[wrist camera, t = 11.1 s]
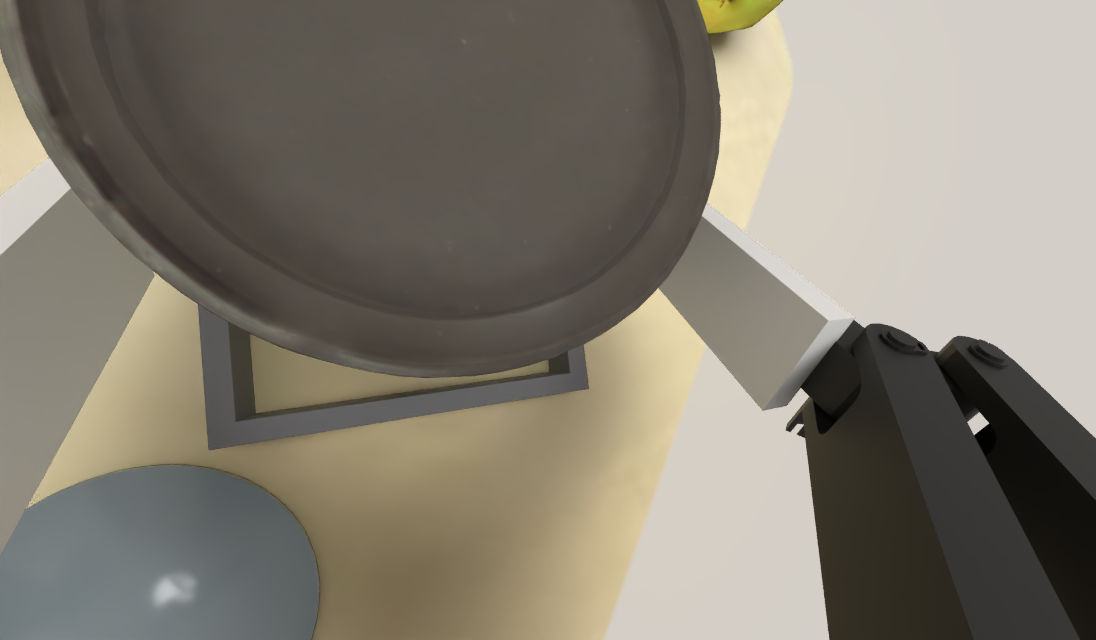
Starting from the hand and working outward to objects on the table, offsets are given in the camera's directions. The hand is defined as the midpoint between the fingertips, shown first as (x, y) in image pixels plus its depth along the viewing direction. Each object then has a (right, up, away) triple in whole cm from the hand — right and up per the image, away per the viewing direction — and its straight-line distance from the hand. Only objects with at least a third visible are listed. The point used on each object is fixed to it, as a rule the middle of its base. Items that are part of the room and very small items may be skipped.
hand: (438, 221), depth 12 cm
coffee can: (-4, 0, +8) cm, 9 cm away
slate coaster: (-11, -13, +4) cm, 18 cm away
